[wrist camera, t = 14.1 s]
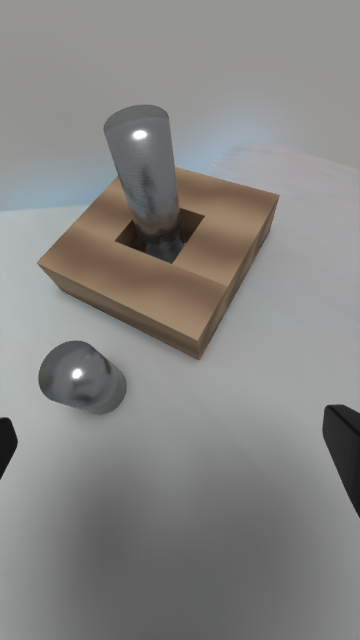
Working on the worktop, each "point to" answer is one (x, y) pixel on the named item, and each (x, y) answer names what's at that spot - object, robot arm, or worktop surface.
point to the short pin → (81, 378)
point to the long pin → (148, 177)
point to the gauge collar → (157, 275)
